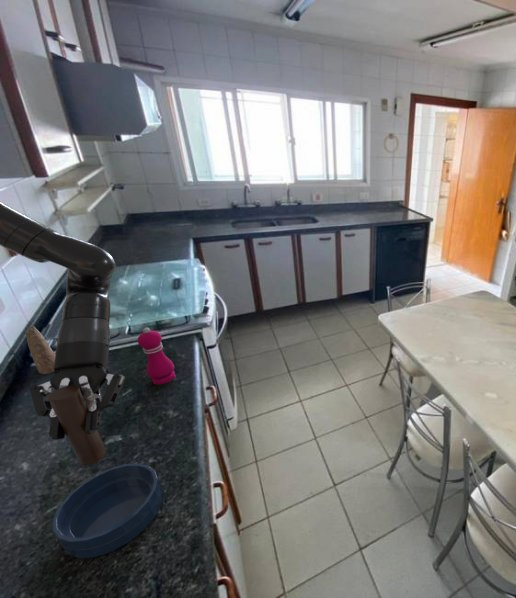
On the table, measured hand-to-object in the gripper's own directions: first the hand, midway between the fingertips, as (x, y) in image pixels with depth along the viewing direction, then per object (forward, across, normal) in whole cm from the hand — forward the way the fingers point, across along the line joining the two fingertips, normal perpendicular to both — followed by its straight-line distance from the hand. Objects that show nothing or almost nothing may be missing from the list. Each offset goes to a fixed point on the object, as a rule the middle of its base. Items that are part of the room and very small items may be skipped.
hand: (74, 435), depth 60 cm
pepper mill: (-16, -1, +50) cm, 52 cm away
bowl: (+17, +1, +16) cm, 24 cm away
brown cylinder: (+4, 0, +7) cm, 8 cm away
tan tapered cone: (-24, -34, +58) cm, 71 cm away
